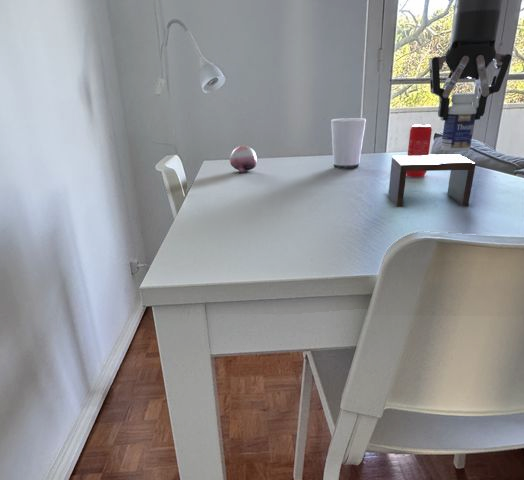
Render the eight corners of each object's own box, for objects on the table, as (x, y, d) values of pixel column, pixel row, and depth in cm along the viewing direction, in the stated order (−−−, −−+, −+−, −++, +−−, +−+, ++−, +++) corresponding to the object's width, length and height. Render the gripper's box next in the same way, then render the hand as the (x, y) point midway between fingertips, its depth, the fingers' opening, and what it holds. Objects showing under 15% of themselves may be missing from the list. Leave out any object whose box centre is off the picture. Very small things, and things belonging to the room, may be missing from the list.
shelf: (452, 193, 104) (459, 153, 100) (468, 205, 94) (476, 162, 90) (388, 194, 105) (392, 155, 101) (396, 206, 95) (401, 163, 91)
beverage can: (402, 176, 123) (407, 126, 117) (409, 173, 127) (414, 124, 121) (421, 178, 120) (428, 126, 114) (428, 175, 124) (435, 124, 118)
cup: (369, 166, 140) (372, 118, 133) (350, 170, 134) (353, 121, 127) (341, 163, 146) (344, 117, 139) (322, 167, 140) (323, 120, 133)
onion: (260, 169, 141) (259, 143, 137) (253, 174, 134) (252, 147, 131) (234, 169, 142) (233, 144, 139) (227, 174, 136) (225, 147, 132)
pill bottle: (454, 153, 89) (463, 94, 84) (434, 150, 93) (442, 94, 88) (476, 150, 90) (486, 93, 86) (455, 147, 95) (464, 92, 90)
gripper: (439, 9, 78) (425, 122, 86) (529, 5, 77) (506, 120, 85) (429, 15, 85) (417, 119, 93) (512, 11, 83) (492, 117, 92)
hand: (460, 119), depth 89 cm, fingers closed on pill bottle, 5 cm apart
